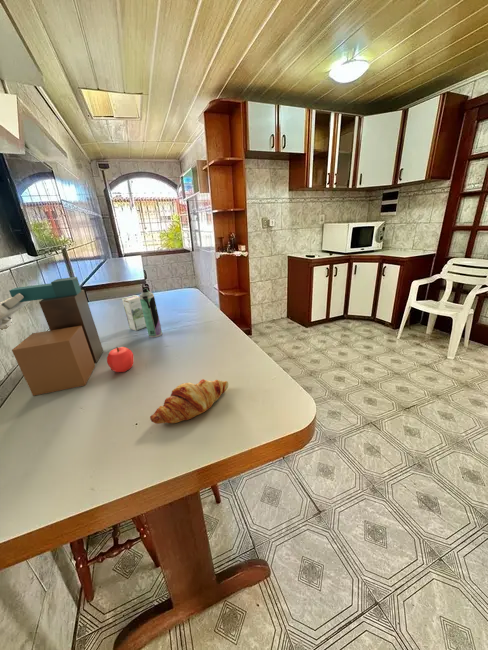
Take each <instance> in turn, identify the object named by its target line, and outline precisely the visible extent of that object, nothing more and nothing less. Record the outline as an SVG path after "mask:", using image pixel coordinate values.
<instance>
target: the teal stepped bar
mask: <svg viewBox="0 0 488 650" xmlns="http://www.w3.org/2000/svg"><path fill="white" fill-rule="evenodd" d="M81 290H82V288H81V285H80V282H79V279H78V277H77V276H72V277H71V276H70V277H64V278H63V277H62V278H57V279H54V280H53V281H51V282H49V283H43V284H41V283H40V284H35V285H26V286H25V285H24V286H19V287H14V288H12V289H9V290H8V292H9V294H10V296H11V297H14V296H15V295H17V294H18V293H22V294H23V295H25V298H23V299H22V300H21V301H19V302H26V301H30V302H33V301H41V300H43V299H48V298H55V297H56V298H58V297H65V296H73V295H77V294H79V293H80V292H81Z"/></svg>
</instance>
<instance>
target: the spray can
mask: <svg viewBox="0 0 488 650" xmlns="http://www.w3.org/2000/svg"><path fill="white" fill-rule="evenodd" d="M138 296H139V297H140V302H141V306H142V310H143V314H144V318H145V323H146V327H145V328H146V331H147V334H148V337H149V338H154V339H155V338H159V337H161V336H162V335H163V331H162V327H161V321H160V316H159V312H158V308H157V303H156V299H155V295H154V293H153V292H151V291H150V290H149V289H148V288H147V287H144V288H142V291H141V293H140V294H139V295H138Z"/></svg>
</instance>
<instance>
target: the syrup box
mask: <svg viewBox="0 0 488 650" xmlns="http://www.w3.org/2000/svg"><path fill="white" fill-rule="evenodd" d="M121 300H122V304H123V308H124V312H125V317H126V320H127V324H128V328H129V329H130V330H131V331H136V332H137V331H139V330H142V329H145V328H147V327H146V323H145V318H144V314H143V310H142V306H141V302H140V296H139V295H135V294H134V295H130V296H127V297H123V298H121Z"/></svg>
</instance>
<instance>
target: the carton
mask: <svg viewBox="0 0 488 650" xmlns="http://www.w3.org/2000/svg"><path fill="white" fill-rule="evenodd" d="M11 352H12V354H13V356H14V358H15V361H16V363H17V365H18V368H20V371H21V373H22V375H23V377H24V378H23V379H24V380H25V382H26V384H27V387H28V388H29V390H30V392H31V395H32V396H33V397H35V396H37V395H38V396H39V395H44V394H48V393H49V394H50V393H54V392H60V391H64V390H70V389H73V388H80V387H84V386H86V385H87V382H88V381H89V380H90V377H91V375H92V374H93V371H94V369H95V368H96V363H95V364H94V361H93V358H92V355H91V352H90V349H89V346H88V343H87V340H86V337H85V334H84V331H83V329H82V326H76V327H70V328H63V329H57V330H51V331H50V330H46V331H45V330H44V331H38V332H32V333H31V334H30V335H29V336H27V337H26V338H25V339H24V340H22V341H21V342H20V343H19V344H17V345H16V346H15V347H13V348H12V349H11Z"/></svg>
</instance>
